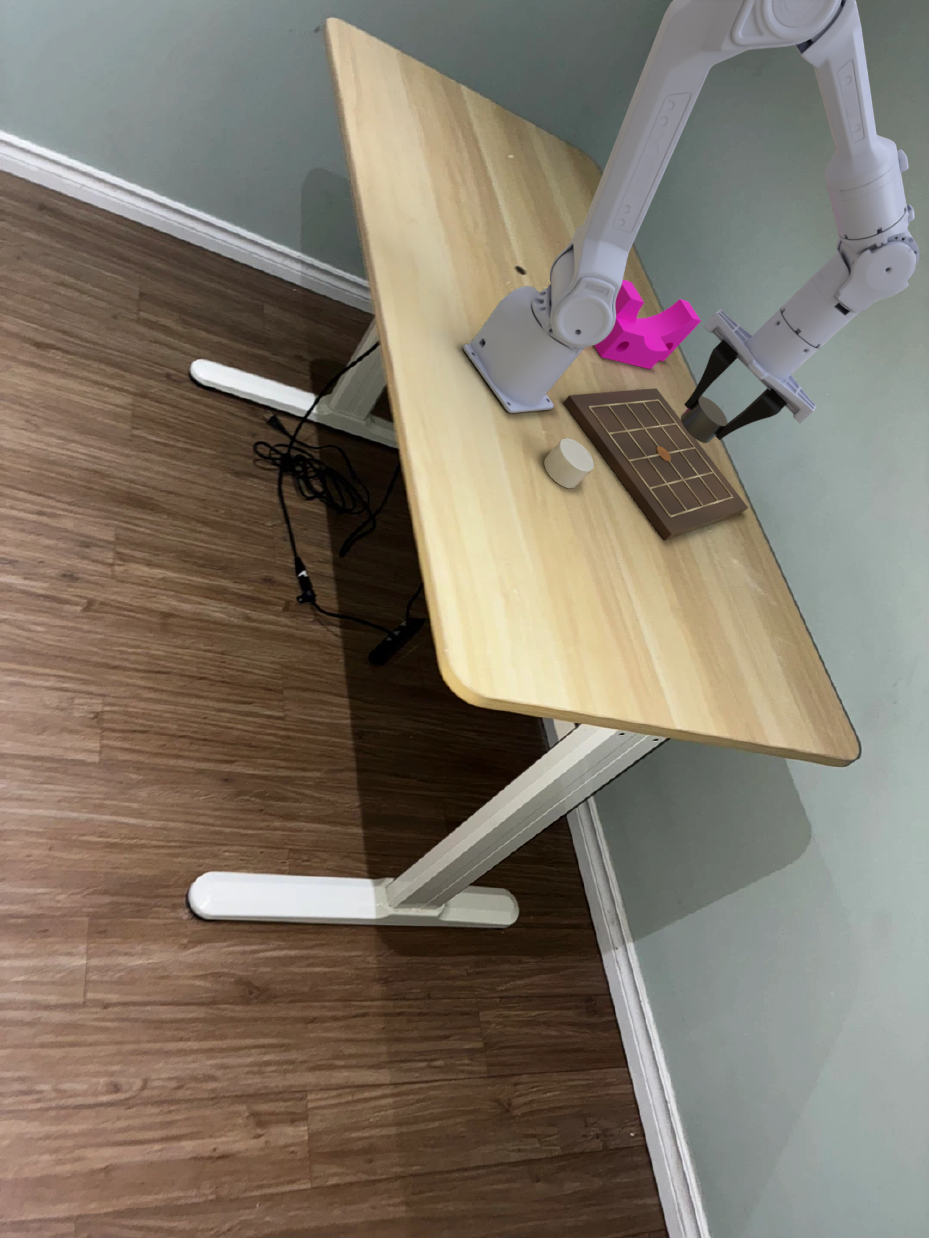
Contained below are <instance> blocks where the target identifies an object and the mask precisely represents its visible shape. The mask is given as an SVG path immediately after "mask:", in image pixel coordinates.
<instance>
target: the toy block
mask: <svg viewBox="0 0 929 1238" xmlns="http://www.w3.org/2000/svg"><path fill="white" fill-rule="evenodd" d="M643 305H645V302H644V300H643V298H642V296H641V295H640V293H639V291H638V290H637V289H636V287H635V285H634V284H633V282H632V281H629V280H626V279H623V281H622V285H621V288H620V290H619V292H618V294H617V297H616V302H615V309H616V320H615V324H614V327H613V329H612V331H611V332H610V334H609V335H608V336H607V337H606V338H605V339H604V340H602V341H601V342H599V343H598V344H595V345H593V346H594V347H595V349H596V351H597V353H598V355H599V356H600V357H601V358H603V359H606V360H612V361H614V362H615V361H616V362H619V363H624V364H628V365H631V366H636V367H640V368H644V369H648V370H652V368H654V367H655V366H656V364H657V363H658V362H659V361H660V362H664V361H666V359H668V357H669V356H670V355H672V353H673V352H674V351H675V350H676V349H677V348H678V347H679V346H680V344H682V342H683V341H685V340H686V338H687V337H688V336H689V335H690V334H691V333H692V332H693V331H694V330H695V329H696V328H697V326H698V325H699V324H700V323H701V322H702V320H701V318H700V317H699V315H698V314H697V312H696V311H695V310H694V308H693V306H692V305H691V303H690V302H689V301H687V300H684V299H681V298H679V299H677V301H675V302H674V303H673V304H672V305H670V307H668V308H666V309H664V310H663V311H661V312H659V313H656V314H655V315H652V316H649V317H641V318H640V317H639V318H638V315H639V312H640V310H641V309H642V307H643Z"/></svg>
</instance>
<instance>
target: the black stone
mask: <svg viewBox="0 0 929 1238" xmlns="http://www.w3.org/2000/svg"><path fill="white" fill-rule="evenodd" d="M680 419H681V421H682V424H683V426H684V427H685V429H686V430H687V431H688V432H689V434H690V435H691V436H693V437H694V438H695V439H696V440H697V442H700V443H703V444H708V443H710V442H711V441H712V440H713V439H714V438H716V435H717V434H718V433H719V432H720V431H721V430H722V429H723V428H724V427H726V426H727V423H728V419H727V417H726V414H725V413H724V411H723V410H722V409H721V408H720V407H719V405H717V404H716V402H714V401H713V400H711V399H709V398H708V397H707V396H701V397H699V398H698V400H697V401H696V402H695V403H694V404H693V405H692V406H691V407H690V408H689V409H688V408H687V409H685V410H684V411H683V413H682V414H681V415H680Z"/></svg>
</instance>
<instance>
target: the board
mask: <svg viewBox="0 0 929 1238" xmlns="http://www.w3.org/2000/svg"><path fill="white" fill-rule="evenodd" d="M563 404H564V406H565V407H566V408H567V410H568V411H569V412H570V414H571V415H572V417H573V418H574V419H575V421H576V422H577V423H578V425H579V426H580V428H581V429H582V430H583V432H584V433H585V435H586V436H587V437H588V438H589V440H590V441H591V442H592V444H593V446H594V447H595V449H596V450H597V452H599V454H600V455H601V456H602V457H603V459H604V461H605V462H606V463H607V465H608V466H609V468H610V469H611V470H612V471H613V473H614V474H615V476H616V477H617V478H618V480H619V481H620V482H621V483H622V485H623V486H624V488H625V490H627V492H628V493H629V495H630V496H631V498H632V499H633V500H634V501H635V503H636V505H638V507H639V508H640V510H641V511H642V512H643V514H644V515H645V516H646V518H647V519H648V520H649V522H650V523H651V525H652V526H653V527H654V529H655V530H656V532H657V533H658V534H659V536H660V537H661V539H662V540H663V541H667V540H669V539H672V538H675V537H678V536H681V535H685V534H687V533H689V532H693V531H695V530H698V529H701V528H704V527H707V526H710V525H712V524H715V523H719V522H721V521H724V520H727V519H730V518H733V517H736V516H739V515H741V514H743V513H744V512H745V511H746V510H747V511H748V509H749V507H748V505H747V504H746V503H745V501H744V500H743V498H741V496H740V495H739V493H738V492H737V491H736V489H734V487H733V486H732V484H731V483H730V482H729V481H728V479H727V477H726V476H725V475H724V474H723V473H722V471H721V470H720V469H719V467H718V466H717V464H715V461H713V460H712V459H711V457H710V456H709V454H708V453H707V452H706V450H705V449H704V448H703V447H702V445H701V444H700V443H699V441H698V440H697V439H695V438H694V437H693V436H691V435H690V434H689V432H688V431H687V430H686V429H685V427H684V426H683V424H682V421H681V417H679V415H678V414H677V413H676V412H675V410H674V409H673V408H672V406H671V405H670V404H669V403H668V401H667V400H666V399H665V397H664V396H663V394H662V393H661V392H660V391H659V389H658V388H656V387H655V388H645V389H644V388H643V389H631V390H617V391H605V392H593V393H581V394H569V395H568V396H567V397H566V398H565V400H564V401H563Z"/></svg>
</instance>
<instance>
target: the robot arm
mask: <svg viewBox="0 0 929 1238" xmlns="http://www.w3.org/2000/svg"><path fill="white" fill-rule="evenodd" d="M857 3H858V2H857V1H856V0H672V1H671V2H670V3H669V4H668V7H667V9H666V11H665V12H664V14H663V17H662V20H661V22H660V24H659V28H658V30H657V33H656V34H655V35H656V36H655V38H654V40H653V43H652V46H651V47H650V48H651V49H650V50H649V53H648V56H647V58H646V61H645V64H644V67H643V69H642V71H641V74H640V76H639V79H638V82H637V84H636V87H635V90H634V92H633V95H632V98H631V100H630V102H629V105H628V108H627V110H626V113H625V116H624V118H623V121H622V123H621V126H620V128H619V131H618V133H617V135H616V139H615V141H614V144H613V147H612V149H611V151H610V154H609V157H608V159H607V162H606V165H605V167H604V170H603V173H602V175H601V177H600V180H599V182H598V185H597V188H596V191H595V192H594V195H593V198H592V201H591V204H590V206H589V209H588V211H587V214H586V216H585V219H584V222H583V223H582V224H581V225H579V226H577V227H576V228H575V229H574V232H573V235H572V237H571V240H570V241H569V243H568V244H567V245H566V247H565V248H564V249H563V250H562V251H561V252H559V253H558V254H557V256H556V257H555V258H554V260H553V262H552V263H551V267H550V270H549V284H548V286H547V287H546V288H544V289H543V290H541V291H539V290H538V288H536V287H534V286H532V285H523V286H521V287H518V288H515V289H513V290H512V291H511V292H509V293H508V294H507V295H505V296H504V297H503V298H502V299H501V300H500V301H499V302H498V304H497V305H496V306H495V307H494V309H493V310H492V312H491V313H490V315H489V316H488V318H487V319H486V321H484V323H483V324H482V326H481V328H480V329H479V330H478V332H477V333H476V335H475V336H474V338H473V339H472V340H471V341H470V343H466V344H464V345H463V346H462V350H463V351H464V352H465V354H466V355H467V356H468V358H469V359H470V362H471V363H472V364H473V365H474V367H475V368H476V369H477V371H478V372H479V374H480V375H481V376H482V378H483V379H484V380H485V382H486V383H487V386H488V387H489V388H490V389H491V390H492V392H493V393H494V395H495V396H496V398H497V399H498V400H499V402H500V403H501V405H502V406H503V407H504V409H505V410H506V411H507V412H508V413H510V414H516V413H517V414H518V413H527V412H536V411H537V412H538V411H547V410H553V408H554V402H552V400H551V399H550V397H549V396H548V393H549V392H550V390H552V388H553V386H554V385H555V384H556V383H557V382H558V381H559V380H560V378H561V377H562V375H564V373H565V372H566V371H567V370H568V369H569V367H570V366H572V364H573V363H574V362H575V361H576V359H577V358H578V357H579V356H580V355H581V353H582V352H583V351H584V349H586V348H589V347H593V346H594V345H595V344H598V343H599V342H601V341H602V340H604V339H605V338H606V337H607V336H608V335H609V334H610V332H611V331H612V329H613V327H614V324H615V320H616V309H615V302H616V297H617V294H618V292H619V290H620V288H621V285H622V281H623V280H624V276H625V271H626V267H627V262H628V257H629V254H630V251H631V249H632V247H633V244H634V242H635V240H636V238H637V235H638V233H639V230H640V228H641V227H642V224H643V223H644V222H643V221H644V219H645V217H646V215H647V213H648V211H649V209H650V206H651V204H652V201H653V199H654V197H655V194H656V192H657V190H658V188H659V186H660V183H661V180H662V179H663V177H664V174H665V171H666V170H667V168H668V165H669V163H670V160H671V158H672V157H673V154H674V151H675V150H676V147H677V145H678V142H679V140H680V138H681V136H682V133H683V131H684V129H685V127H686V124H687V122H688V119H689V117H690V116H691V113H692V111H693V109H694V106H695V104H696V102H697V99H698V97H699V95H700V92H701V90H702V88H703V85H704V83H705V81H706V79H707V77H708V75H709V72H710V70H711V68H713V66H715V65H717V64H719V63H721V62H724V61H726V60H728V59H731V58H733V57H735V56H738V55H741V54H743V53H744V52H747V51H750V50H762V49H776V48H785V47H791V46H794V48H795V50H796V51H797V53H798V54H799V56H800V57H801V58H802V59H803V60H805V61H806V62H808V63H809V64H811V65H812V68H813V70H814V75H815V78H816V81H817V82H816V83H817V86H818V89H819V93H820V97H821V100H822V104H823V108H824V112H825V116H826V119H827V123H828V127H829V130H830V134H831V138H832V142H833V145H834V149H835V151H834V153H833V154H832V156H831V158H830V160H829V162H828V163H827V165H826V168H825V169H824V177H823V178H824V181H825V185H826V189H827V193H828V196H829V202H830V205H831V210H832V213H833V217H834V221H835V226H836V230H837V235H838V238H837V242H836V250H837V251H836V253H835V254H833V256H831V257H830V259H829V260H827V261H826V262H825V263H824V265H822V266H821V268H820V269H818V270H817V271H816V272H815V273H814V274H813V275H812V276H811V277H810V279H808V280H807V281H806V282H805V283H804V284H803V285H802V286H801V287H800V288H798V290H797V292H795V293H794V294H793V295H792V296H791V297H790V298H789V299H788V300H787V301H786V302H785V303H784V304H783V305H782V306H781V307H780V308H779V309H778V310H777V311H776V312H774V314H773V315H772V316H771V317H770V318H769V319H767V321H765V323H764V324H762V326H761V327H759V328H758V330H756V331H755V333H754V334H751V333H749V332H748V331H747V330H746V329H744V328H743V327H742V326H741V325H740V324H738V323H737V322H736V321H734V319H733V318H731V317H730V316H729V315H728V314H727V313H726V312H725V311H724V310H723V309H722V308H720V309H718V310H717V311H716V312H715V313H714V314H712V315H711V317H710V318H709V319H708V320H707V321H706V322H705V323H704V325H703V326H702V327H703V328H704V329H705V330H706V331H707V332H708V333H710V334H713V335H714V336H715V337H716V338H717V339H718V340H719V341H720V342H719V343H718V344H717V345H716V346H715V347H714V348H713V349H712V351H711V353H710V354H709V357H708V361H707V364H706V366H705V369H704V371H703V374H702V376H701V377H700V380H699V382H698V383H697V385H696V387H695V388H694V391H693V392H692V393H691V394H690V396H689V398H688V399H687V400H686V401H685V403H683V404H684V407H686V408H687V409H689V408H690V407H691V406H692V405H693V404H694V403H695V402H696V401H697V400H698V398H699V397H702V396H703V395H704V393H705V392H706V391H707V389H709V387H710V386H711V385H712V384H713V383H714V382H715V381H716V380H717V379H718V378H719V377H720V376H721V375H722V374H723V373H724V372H725V371H726V370H727V369H728V368H729V367H730V366H731V365H732V364H734V362H735V361H736V360H737V359H738V361H740V362H741V364H743V366H745V367H746V368H747V369H748V370H749V371H750V372H751V373H752V374H753V376H755V377H756V378H757V379H758V380H759V382H761V384H762V385H763V386H765V387H766V389H765V390H763V392H762V393H760V394H759V396H758V397H757V398H756V399H754V400H753V401H752V402H751V403H750V404H749V405H748V406H747V407H746V408H745V409H744V410H742V411H741V412H740V413H738V414H737V415H736V416H735V417H734V418H732V419H731V420H729V421H728V422H727V426H726V427H724V428H723V429H722V430H721V431H720V432H719V433H718V434H717V435H716V436H715V438H716V439H717V440H718V441H721V440H722V439H724V438H725V437H727V436H728V435H730V434H731V433H733V432H735V431H737V430H739V429H741V428H744V427H746V426H747V425H750V424H752V423H756V422H758V421H762V420H764V419H769V418H771V417H774V416H776V415H778V414H779V413H780V412H781V411H782V409H783V408H786V409H787V410H788V411H789V412H790V413H791V414H792V417H793V419H794V420H795V421H796V422H797V423H798V424H801V423H803V422H804V421H805V420H806V419H807V418H808V417H810V416H811V415H812V414H813V413H814V412H816V411H815V410H816V409H817V407H818V406H817V404H816V403H815V402H814V401H813V400H812V399H811V397H810V396H808V394H807V393H806V392H805V390H804V389H803V388H802V387H801V385H799V383H798V382H797V380H796V379H795V378H794V377H793V376H792V374H794V373H795V371H797V370H798V369H799V368H800V367H802V366H803V364H804V363H805V362H807V360H809V359H810V358H811V357H812V356H813V355H814V354H815V353H817V352H818V351H819V350H820V349H821V348H822V347H823V346H824V345H825V344H827V343H828V342H829V341H830V340H831V339H832V338H833V337H834V336H835V335H837V334H838V332H840V331H841V330H842V329H843V328H844V327H845V326H846V325H848V324H849V323H850V322H851V321H852V320H853V319H854V318H856V316H858V315H859V314H860V313H861V312H865V311H867V309H868V308H870V307H871V306H872V305H873V304H874V303H877V302H878V301H881V300H884V299H889V298H891V297H894V296H896V295H898V294H899V293H901V292H903V291H904V290H905V289H907V288H908V287H909V285H910V284H909V279H910V278H911V277H912V276H913V274H914V273H915V271H916V270H917V267H916V265H919V262H920V257H921V256H920V255H921V254H920V253H921V252H920V247H919V245H918V244H917V242H916V240H915V239H914V237H913V236H912V234H911V232H910V231H909V228H908V227H909V225H910V222H912V221H914V220H915V218H916V214H915V209H914V207H913V206H912V204H910V203H908V204H907V199H906V194H905V188H904V182H903V175H902V173H903V172H905V171H907V170H909V169H910V167H909V160H908V155H907V154H906V153H905V151H904V150H903V149H899V150H898V148H897V144H896V143H895V141H893V140H892V139H890V138H887V137H885V136H881V135H878V133H877V129H876V128H877V127H876V121H875V120H876V119H875V112H874V106H873V100H872V93H871V85H870V78H869V72H868V64H867V57H866V50H865V43H864V36H863V28H862V23H861V18H860V13H859V9H858V4H857Z"/></svg>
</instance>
